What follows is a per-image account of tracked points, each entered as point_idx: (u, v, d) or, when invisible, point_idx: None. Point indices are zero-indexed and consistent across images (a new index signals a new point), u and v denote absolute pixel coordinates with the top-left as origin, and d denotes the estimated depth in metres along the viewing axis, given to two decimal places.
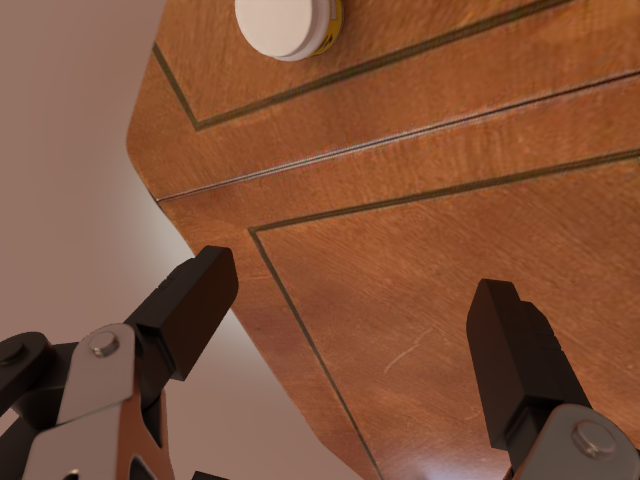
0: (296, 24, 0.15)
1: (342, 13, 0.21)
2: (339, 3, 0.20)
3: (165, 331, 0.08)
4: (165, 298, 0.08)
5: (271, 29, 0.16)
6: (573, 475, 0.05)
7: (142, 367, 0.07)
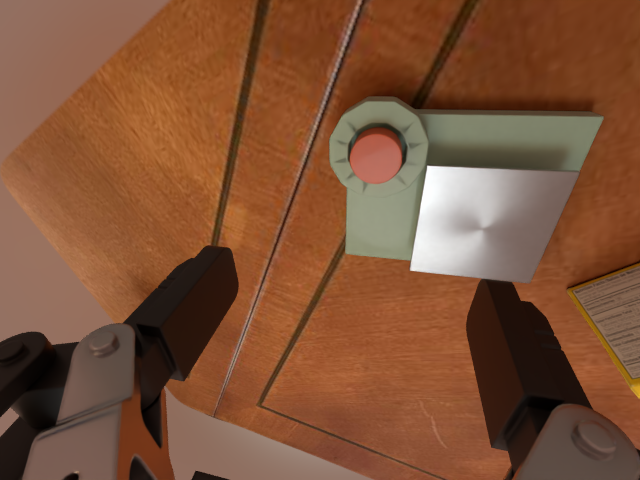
0: None
1: None
2: None
3: (165, 331, 0.08)
4: (165, 298, 0.08)
5: None
6: (573, 475, 0.05)
7: (141, 366, 0.07)
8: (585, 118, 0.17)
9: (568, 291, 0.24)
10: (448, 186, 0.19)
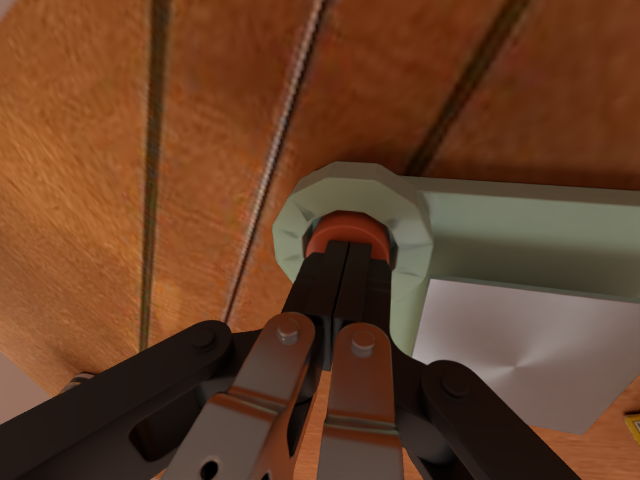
0: None
1: None
2: None
3: None
4: (319, 289, 0.08)
5: None
6: (333, 363, 0.06)
7: (317, 355, 0.07)
8: None
9: (627, 420, 0.17)
10: (464, 309, 0.12)
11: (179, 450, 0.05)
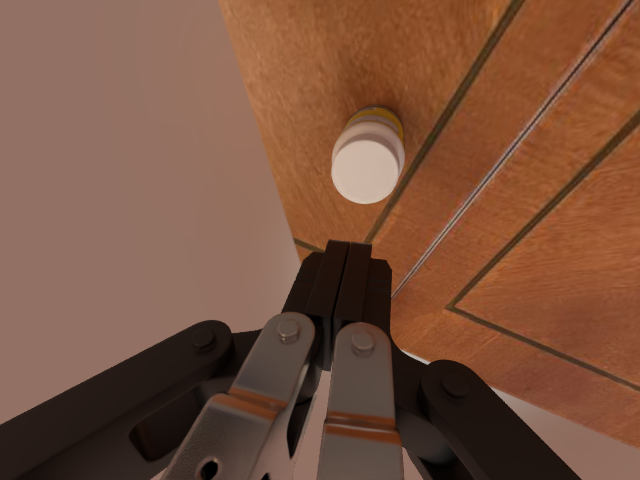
0: (386, 167, 0.18)
1: (394, 115, 0.23)
2: (388, 113, 0.22)
3: None
4: (319, 289, 0.08)
5: (372, 184, 0.19)
6: (333, 363, 0.06)
7: (317, 355, 0.07)
8: None
9: None
10: None
11: (179, 450, 0.05)
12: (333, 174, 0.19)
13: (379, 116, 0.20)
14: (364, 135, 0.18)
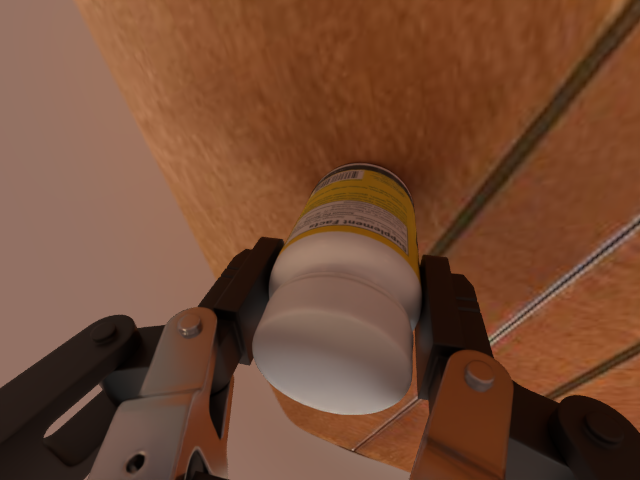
0: (380, 366, 0.07)
1: (398, 184, 0.12)
2: (387, 186, 0.11)
3: (239, 316, 0.08)
4: (235, 285, 0.09)
5: (347, 388, 0.08)
6: (454, 400, 0.06)
7: (222, 348, 0.08)
8: None
9: None
10: None
11: (96, 460, 0.04)
12: (257, 360, 0.08)
13: (367, 204, 0.10)
14: (325, 283, 0.07)
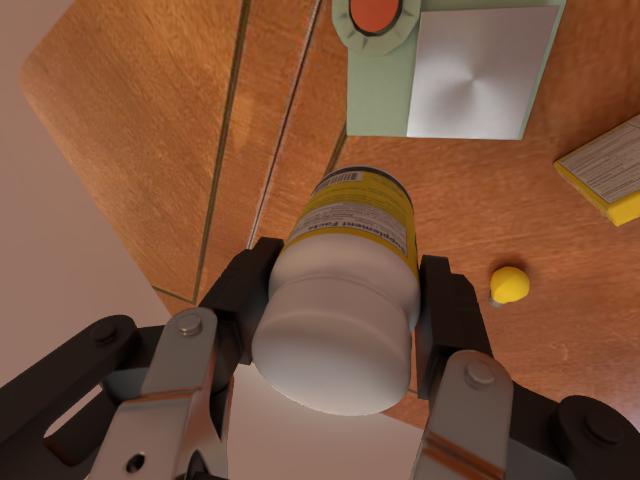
0: (378, 367, 0.07)
1: (397, 185, 0.12)
2: (386, 188, 0.11)
3: (239, 315, 0.08)
4: (235, 285, 0.09)
5: (346, 389, 0.08)
6: (454, 400, 0.06)
7: (222, 348, 0.08)
8: None
9: (554, 163, 0.26)
10: (441, 34, 0.21)
11: (96, 460, 0.04)
12: (257, 362, 0.08)
13: (366, 206, 0.10)
14: (324, 285, 0.07)
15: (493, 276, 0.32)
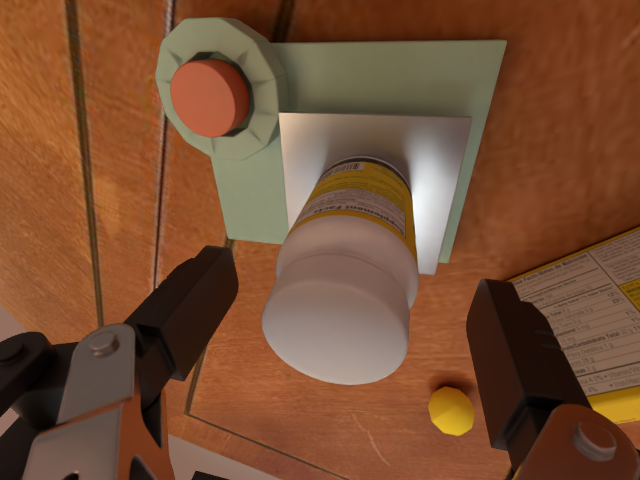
0: (378, 334, 0.08)
1: (397, 175, 0.13)
2: (387, 177, 0.12)
3: (165, 331, 0.08)
4: (165, 298, 0.08)
5: (349, 358, 0.08)
6: (573, 475, 0.05)
7: (141, 367, 0.07)
8: (483, 44, 0.12)
9: None
10: (310, 142, 0.14)
11: None
12: (266, 333, 0.09)
13: (367, 192, 0.10)
14: (329, 260, 0.08)
15: (431, 399, 0.26)
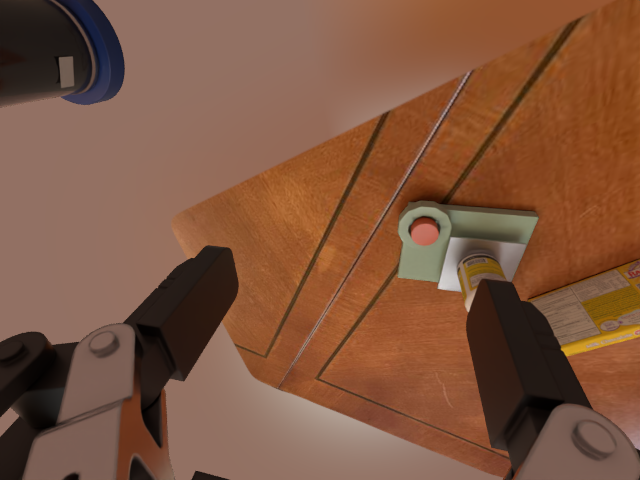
0: None
1: (497, 262, 0.35)
2: (496, 265, 0.34)
3: (165, 331, 0.08)
4: (165, 298, 0.08)
5: None
6: (573, 475, 0.05)
7: (141, 367, 0.07)
8: (530, 217, 0.35)
9: (528, 301, 0.42)
10: (461, 247, 0.36)
11: None
12: None
13: (495, 274, 0.33)
14: None
15: None
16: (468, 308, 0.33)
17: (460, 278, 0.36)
